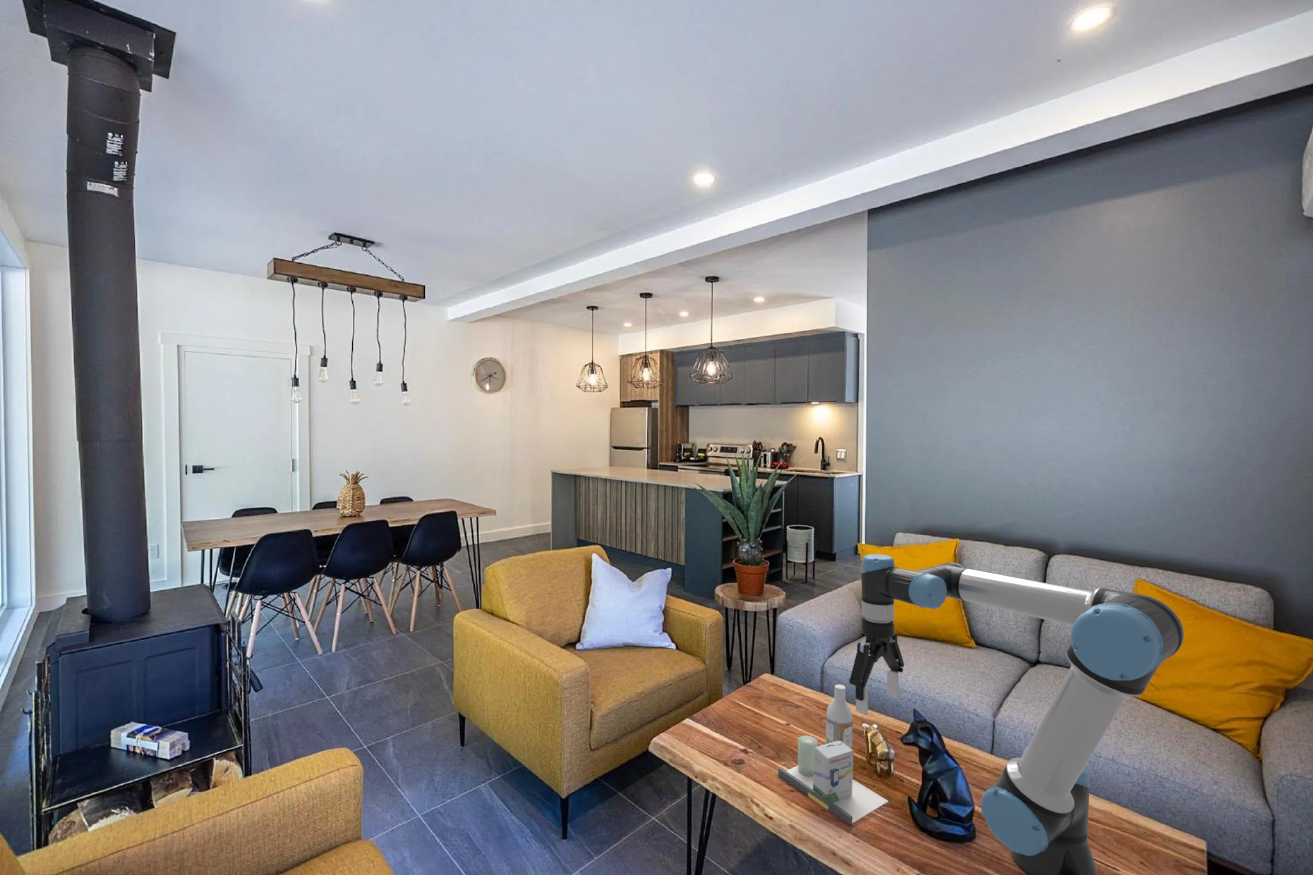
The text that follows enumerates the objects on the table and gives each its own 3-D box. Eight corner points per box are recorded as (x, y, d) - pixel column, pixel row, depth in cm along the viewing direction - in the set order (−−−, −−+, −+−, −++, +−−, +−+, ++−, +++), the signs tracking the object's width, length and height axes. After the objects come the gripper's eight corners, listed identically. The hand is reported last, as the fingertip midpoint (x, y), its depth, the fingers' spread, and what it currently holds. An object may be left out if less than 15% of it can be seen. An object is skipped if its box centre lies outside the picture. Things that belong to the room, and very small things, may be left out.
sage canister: (821, 772, 150) (822, 742, 149) (808, 778, 147) (809, 748, 147) (806, 762, 154) (807, 733, 154) (793, 768, 151) (794, 739, 151)
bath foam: (840, 767, 154) (842, 694, 154) (820, 755, 160) (821, 684, 160) (856, 759, 158) (858, 688, 158) (836, 747, 164) (838, 678, 163)
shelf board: (888, 807, 139) (888, 794, 139) (849, 831, 130) (849, 817, 130) (815, 761, 157) (816, 750, 157) (777, 780, 148) (777, 768, 148)
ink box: (838, 784, 145) (839, 738, 144) (853, 796, 140) (854, 749, 140) (811, 793, 141) (812, 746, 141) (826, 806, 136) (827, 757, 136)
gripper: (891, 605, 152) (891, 685, 152) (834, 624, 136) (834, 713, 137) (918, 612, 146) (918, 695, 146) (862, 633, 131) (862, 726, 131)
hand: (877, 704), depth 141 cm, fingers open, 13 cm apart
